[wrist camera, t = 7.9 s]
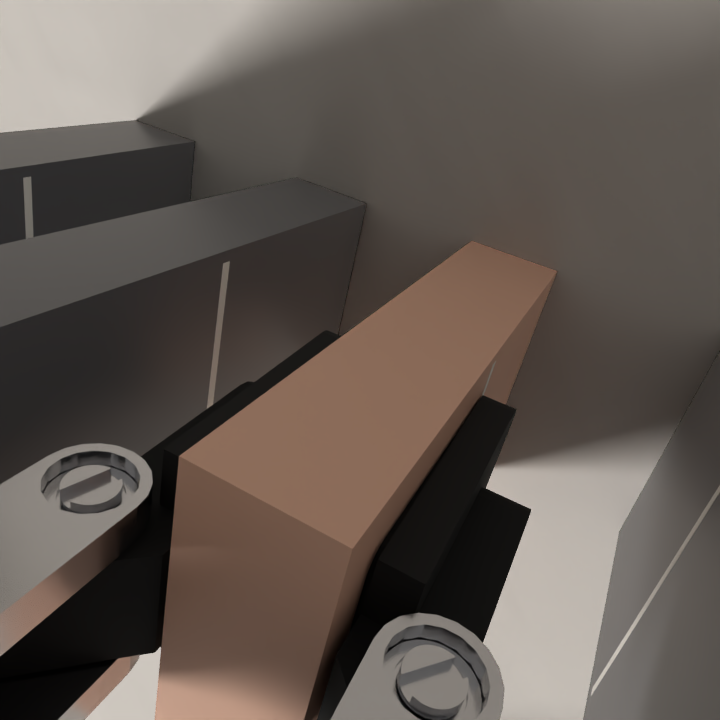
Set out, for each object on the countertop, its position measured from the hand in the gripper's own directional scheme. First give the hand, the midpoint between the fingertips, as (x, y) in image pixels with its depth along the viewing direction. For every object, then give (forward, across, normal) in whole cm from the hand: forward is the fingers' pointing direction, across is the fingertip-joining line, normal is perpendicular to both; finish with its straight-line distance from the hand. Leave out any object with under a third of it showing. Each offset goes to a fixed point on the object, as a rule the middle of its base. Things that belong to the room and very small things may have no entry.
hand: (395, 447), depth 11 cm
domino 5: (+4, +4, 0) cm, 6 cm away
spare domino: (+5, 0, 0) cm, 5 cm away
